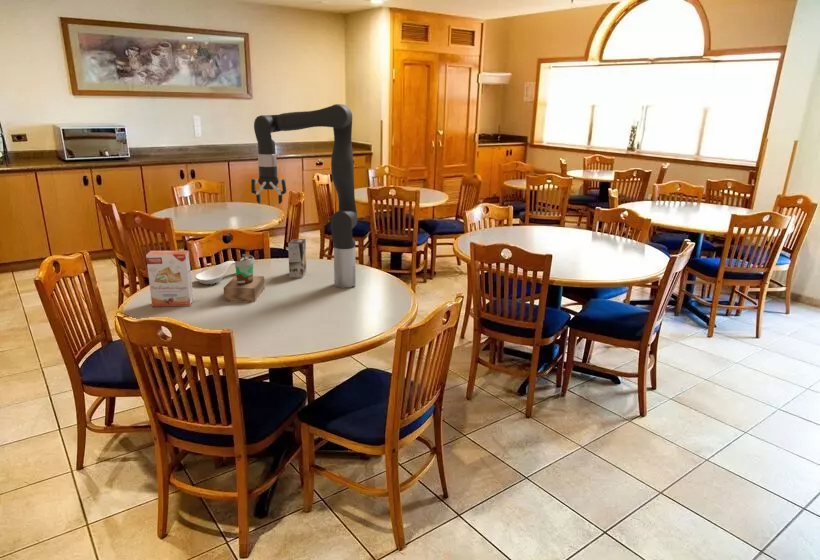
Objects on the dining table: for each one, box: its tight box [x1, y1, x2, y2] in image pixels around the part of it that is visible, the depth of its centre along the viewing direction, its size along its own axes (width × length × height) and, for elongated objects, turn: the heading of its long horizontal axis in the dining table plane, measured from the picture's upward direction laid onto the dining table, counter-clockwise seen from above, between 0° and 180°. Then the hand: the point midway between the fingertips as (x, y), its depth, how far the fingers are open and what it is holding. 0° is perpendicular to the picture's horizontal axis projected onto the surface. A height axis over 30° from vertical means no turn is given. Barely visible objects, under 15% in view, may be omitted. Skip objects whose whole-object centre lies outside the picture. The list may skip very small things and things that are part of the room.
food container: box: [234, 253, 256, 285], centre depth 217 cm, size 12×6×10 cm, turn 2°
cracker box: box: [145, 250, 194, 308], centre depth 204 cm, size 14×6×21 cm, turn 99°
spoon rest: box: [194, 260, 235, 285], centre depth 238 cm, size 24×12×7 cm, turn 148°
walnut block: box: [223, 275, 266, 303], centre depth 219 cm, size 12×16×6 cm
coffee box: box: [287, 238, 308, 279], centre depth 245 cm, size 9×6×16 cm
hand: (269, 203), depth 230 cm, fingers open, 8 cm apart
